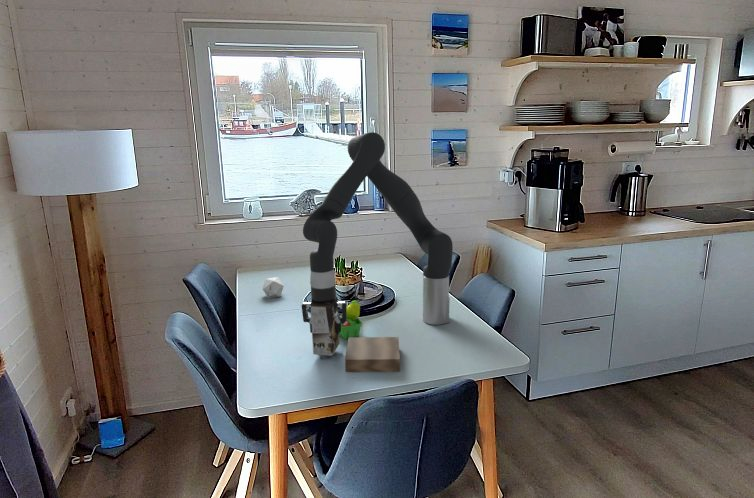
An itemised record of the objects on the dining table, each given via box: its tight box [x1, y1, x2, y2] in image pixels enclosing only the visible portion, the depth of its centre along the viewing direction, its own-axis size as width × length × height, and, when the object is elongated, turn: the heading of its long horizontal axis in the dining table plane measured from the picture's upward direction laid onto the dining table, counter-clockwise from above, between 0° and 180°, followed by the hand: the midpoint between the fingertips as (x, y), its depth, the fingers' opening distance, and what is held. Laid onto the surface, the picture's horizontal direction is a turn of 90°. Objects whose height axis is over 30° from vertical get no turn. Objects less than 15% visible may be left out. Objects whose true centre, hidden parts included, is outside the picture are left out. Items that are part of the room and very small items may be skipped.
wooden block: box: [344, 336, 401, 373], centre depth 156 cm, size 16×15×4 cm
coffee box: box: [310, 296, 341, 357], centre depth 159 cm, size 9×6×16 cm
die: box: [262, 276, 284, 299], centre depth 212 cm, size 8×9×10 cm
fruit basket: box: [338, 300, 363, 340], centre depth 175 cm, size 11×9×11 cm
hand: (326, 333), depth 159 cm, fingers closed on coffee box, 7 cm apart
